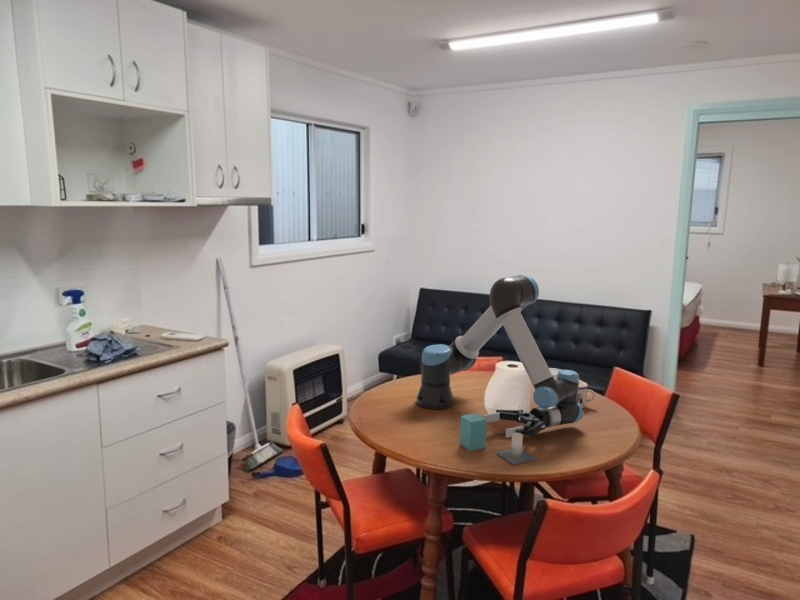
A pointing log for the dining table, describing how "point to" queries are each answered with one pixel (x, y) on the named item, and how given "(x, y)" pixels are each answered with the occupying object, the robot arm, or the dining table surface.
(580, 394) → the teacup with lid
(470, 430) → the teal rectangular prism
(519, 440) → the post
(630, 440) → the dining table surface
